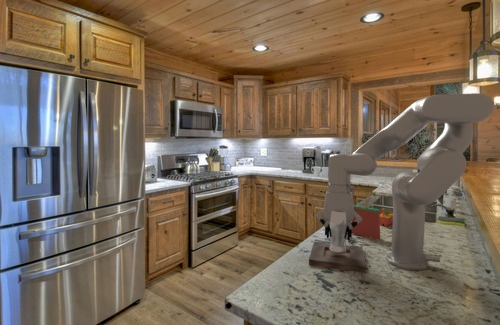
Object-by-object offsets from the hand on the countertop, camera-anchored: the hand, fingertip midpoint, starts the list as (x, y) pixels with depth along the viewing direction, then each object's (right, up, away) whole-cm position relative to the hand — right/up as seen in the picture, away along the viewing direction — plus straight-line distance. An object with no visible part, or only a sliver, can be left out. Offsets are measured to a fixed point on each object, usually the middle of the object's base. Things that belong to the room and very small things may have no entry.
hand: (338, 237), depth 99 cm
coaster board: (0, -7, +1) cm, 7 cm away
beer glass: (0, -5, 0) cm, 5 cm away
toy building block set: (+32, -6, +37) cm, 49 cm away
